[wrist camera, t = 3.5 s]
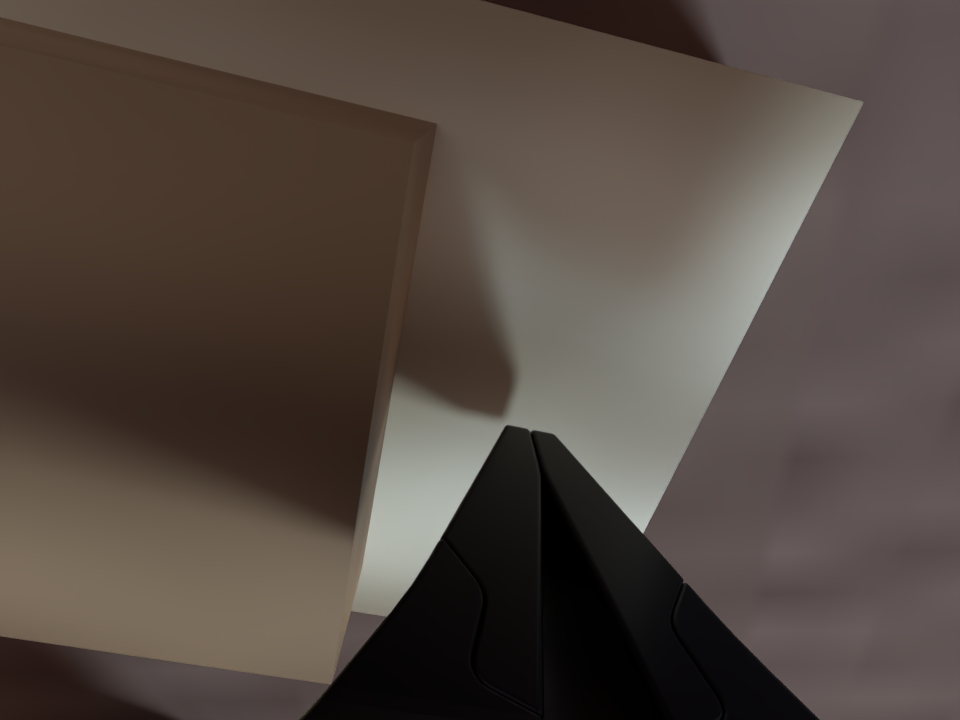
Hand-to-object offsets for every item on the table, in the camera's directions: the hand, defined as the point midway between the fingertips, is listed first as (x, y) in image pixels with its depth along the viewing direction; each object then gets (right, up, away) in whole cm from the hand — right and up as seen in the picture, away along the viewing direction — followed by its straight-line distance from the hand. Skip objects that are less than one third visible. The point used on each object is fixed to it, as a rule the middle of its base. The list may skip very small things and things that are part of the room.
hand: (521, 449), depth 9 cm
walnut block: (-6, +2, 0) cm, 6 cm away
